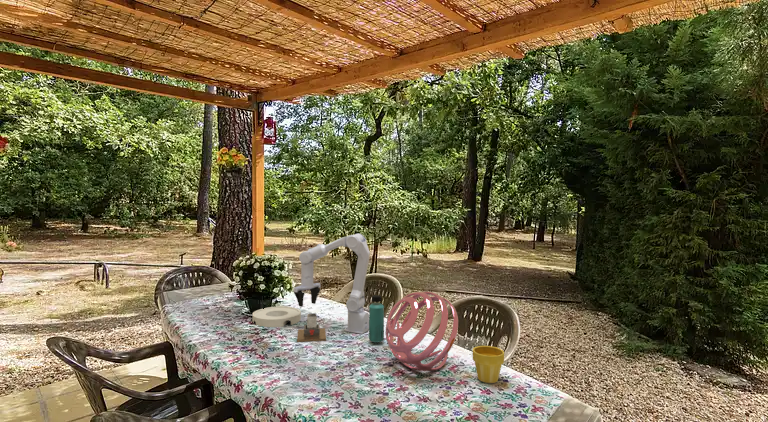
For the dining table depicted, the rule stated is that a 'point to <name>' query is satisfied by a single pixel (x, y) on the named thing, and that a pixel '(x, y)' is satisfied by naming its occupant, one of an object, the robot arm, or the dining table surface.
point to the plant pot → (488, 363)
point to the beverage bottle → (376, 320)
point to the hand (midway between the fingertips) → (307, 304)
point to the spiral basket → (404, 347)
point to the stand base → (311, 334)
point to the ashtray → (276, 316)
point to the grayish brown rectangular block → (311, 321)
